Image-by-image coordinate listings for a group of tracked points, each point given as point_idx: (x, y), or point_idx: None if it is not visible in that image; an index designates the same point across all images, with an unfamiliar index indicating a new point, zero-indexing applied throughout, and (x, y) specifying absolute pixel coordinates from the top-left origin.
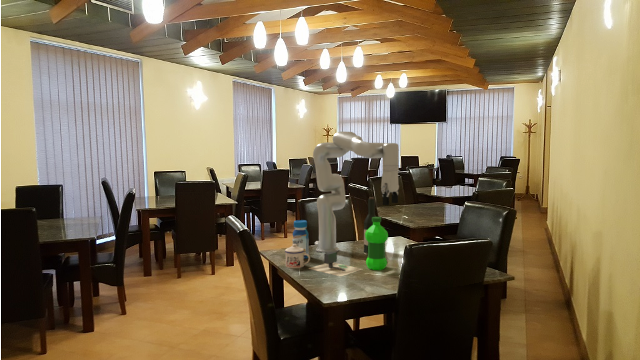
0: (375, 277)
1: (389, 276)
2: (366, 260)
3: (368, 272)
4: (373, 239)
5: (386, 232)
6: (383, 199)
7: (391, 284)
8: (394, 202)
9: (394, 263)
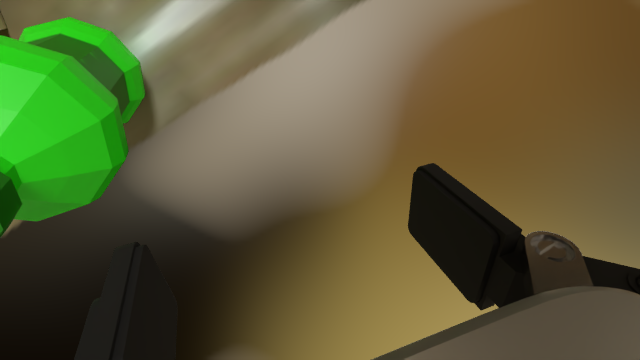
0: None
1: None
2: (21, 35)
3: None
4: None
5: (74, 208)
6: (101, 333)
7: None
8: (411, 204)
9: (257, 60)
